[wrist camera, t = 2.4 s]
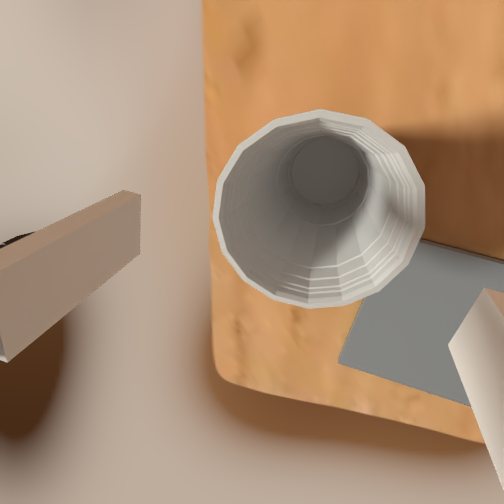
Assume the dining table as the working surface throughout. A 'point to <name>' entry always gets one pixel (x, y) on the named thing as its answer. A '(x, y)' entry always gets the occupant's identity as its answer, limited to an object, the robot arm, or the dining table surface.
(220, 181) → the plastic cup
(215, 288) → the dining table surface
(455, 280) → the rest mat
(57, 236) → the robot arm
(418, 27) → the dining table surface
